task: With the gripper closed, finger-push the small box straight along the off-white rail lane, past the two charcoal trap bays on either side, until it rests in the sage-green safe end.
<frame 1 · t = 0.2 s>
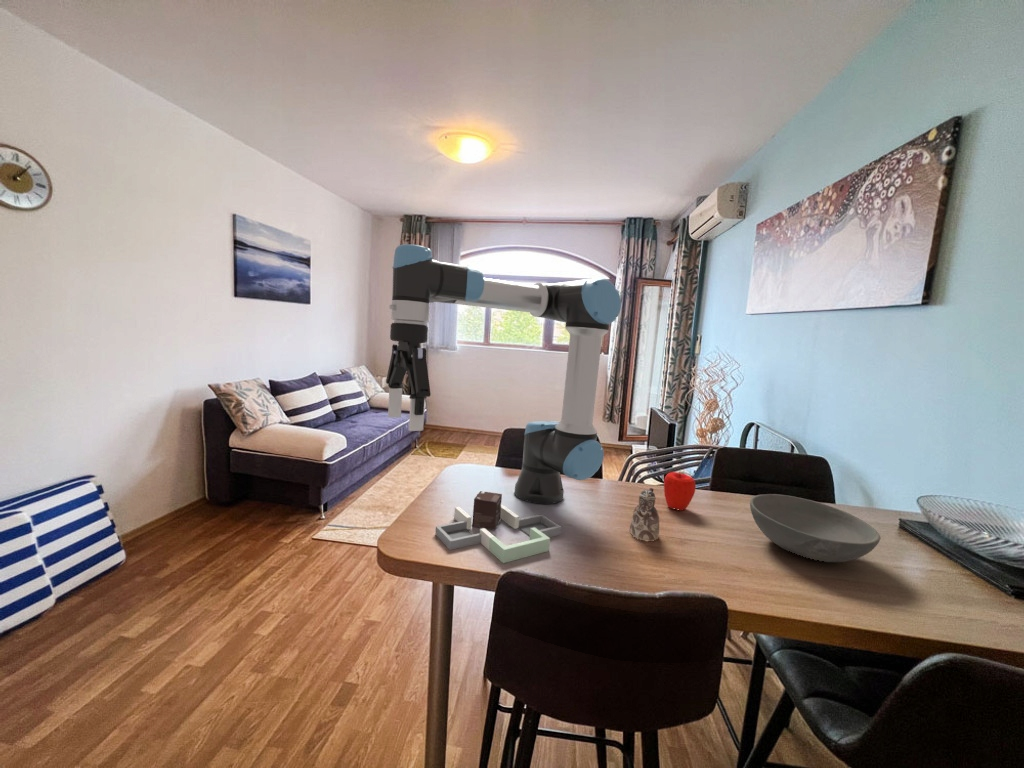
hand: (404, 423, 89), 28 cm above the table, fingers open, 13 cm apart
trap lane: (498, 533, 102), on the table
bowl: (804, 552, 105), on the table
apple: (676, 508, 128), on the table
box: (486, 524, 107), on the table
figurine: (643, 535, 107), on the table
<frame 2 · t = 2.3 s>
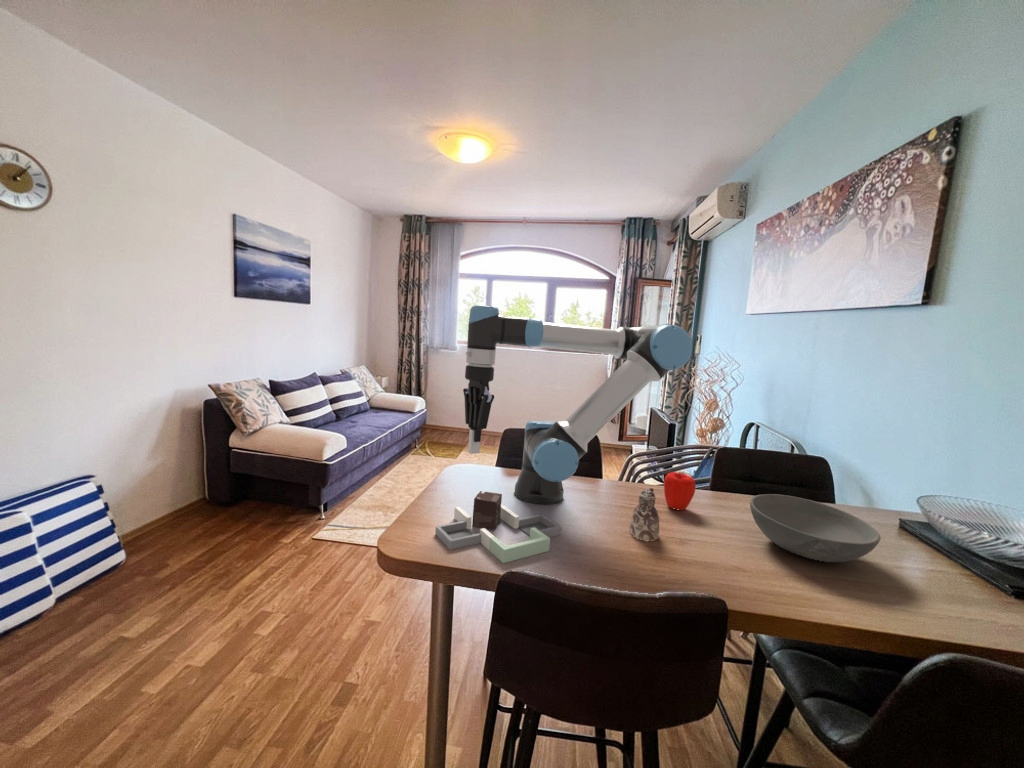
hand: (473, 452, 112), 16 cm above the table, fingers closed
nothing on the table moved.
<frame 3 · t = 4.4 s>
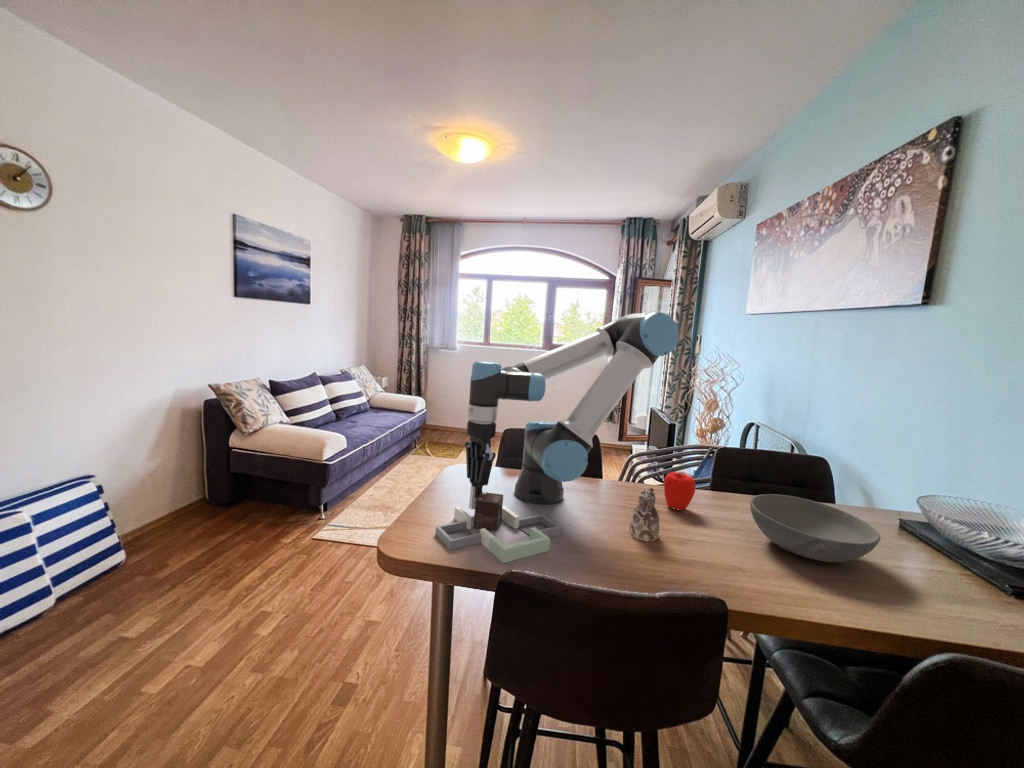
hand: (474, 507, 111), 2 cm above the table, fingers closed
box: (487, 525, 106), on the table, touching gripper
everything else where it was.
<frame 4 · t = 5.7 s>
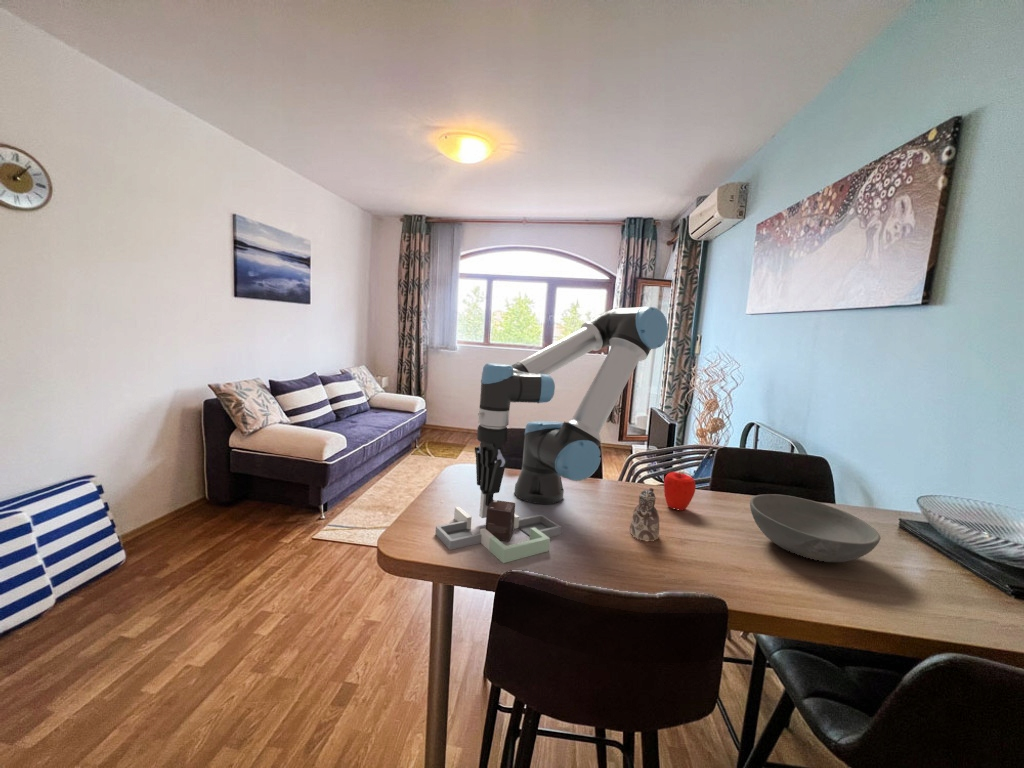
hand: (485, 516, 107), 2 cm above the table, fingers closed
box: (499, 535, 101), on the table, touching gripper
everything else where it was.
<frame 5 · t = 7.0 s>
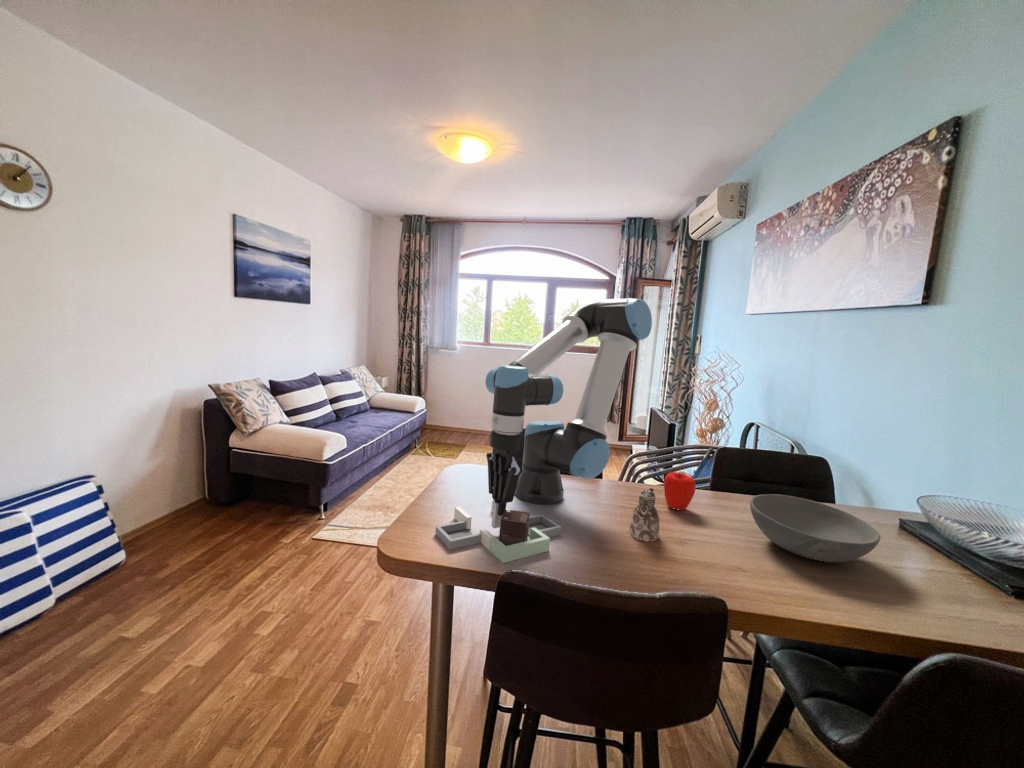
hand: (497, 526, 101), 2 cm above the table, fingers closed
box: (512, 546, 96), on the table, touching gripper, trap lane
everything else where it was.
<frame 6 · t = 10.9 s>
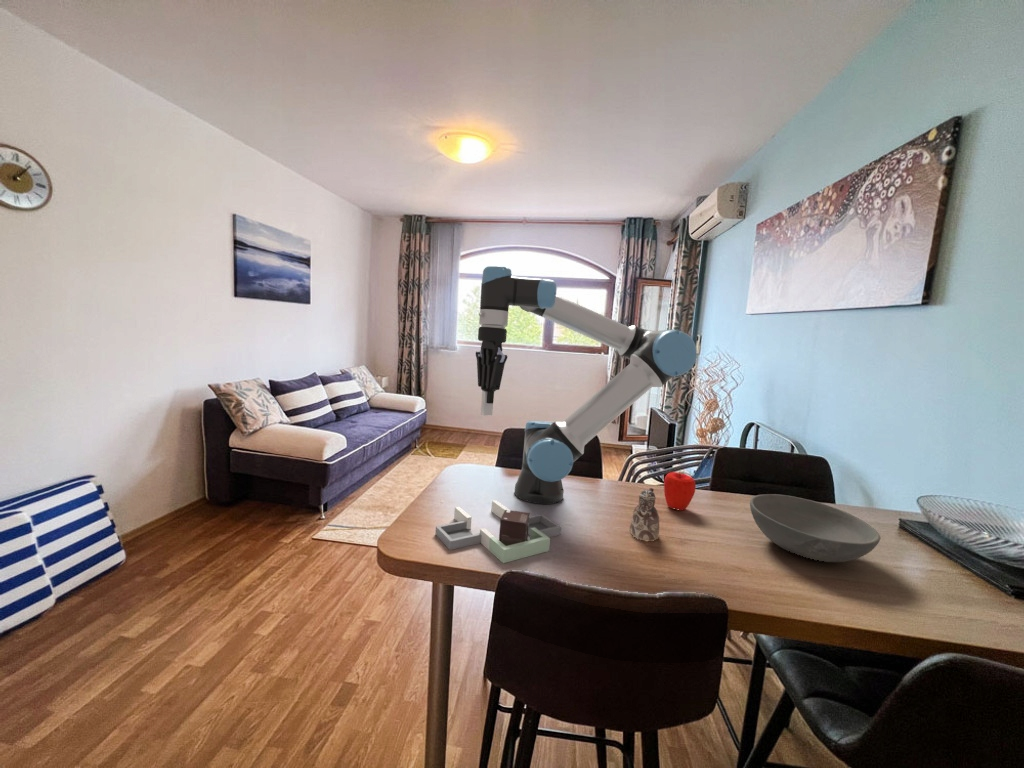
hand: (486, 414, 113), 26 cm above the table, fingers closed
box: (512, 547, 96), on the table
everything else where it was.
at the end: box inside the target area (0.8 cm from its centre), on the table; box tilted 0° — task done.
